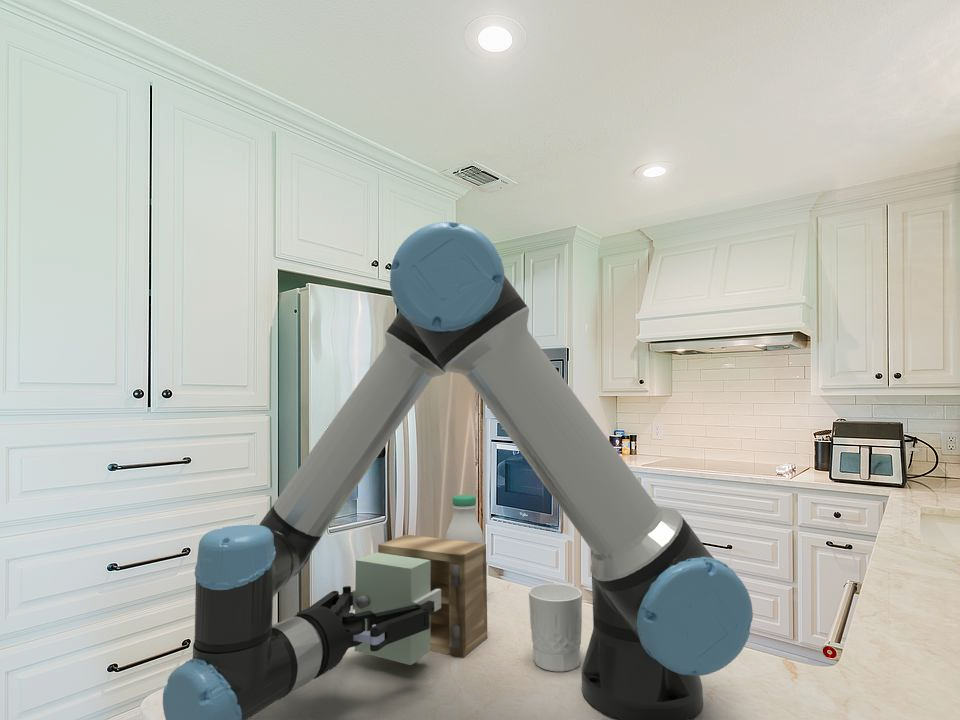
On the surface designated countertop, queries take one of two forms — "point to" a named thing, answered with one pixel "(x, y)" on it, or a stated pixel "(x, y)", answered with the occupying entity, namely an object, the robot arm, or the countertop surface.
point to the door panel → (392, 599)
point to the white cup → (556, 626)
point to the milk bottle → (464, 520)
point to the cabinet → (451, 589)
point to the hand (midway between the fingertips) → (409, 592)
